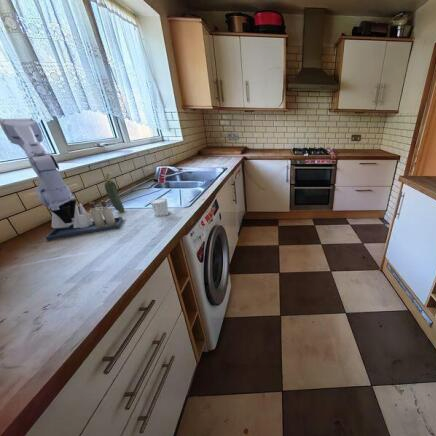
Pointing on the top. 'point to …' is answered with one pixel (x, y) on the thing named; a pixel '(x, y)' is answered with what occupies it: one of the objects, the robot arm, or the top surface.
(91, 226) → the tray
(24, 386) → the top surface
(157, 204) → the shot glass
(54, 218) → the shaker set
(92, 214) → the bottle
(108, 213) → the bottle
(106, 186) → the vegetable
